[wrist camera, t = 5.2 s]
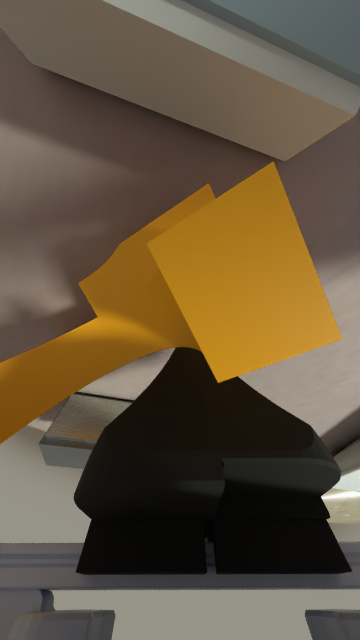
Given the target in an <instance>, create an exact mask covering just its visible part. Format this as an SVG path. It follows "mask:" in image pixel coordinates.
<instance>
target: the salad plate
mask: <svg viewBox="0 0 360 640" xmlns="http://www.w3.org/2000/svg"><path fill="white" fill-rule="evenodd" d="M333 458H334V460H335V461H336V463H337V464H338V466H339V467H340V469H341V470H342V471H341V478H340V481H339V482H338V483H337V484H336V485H335V486H334V487H332V488H336V489H344V490H351V491H358V492H360V439H358V440H356V441H355V442H353V443H352V444H350V445H349V446H347V447H346V448H345V449H344V450H342V451H341V452H339V453H338V454H337V455H335V456H334V457H333Z"/></svg>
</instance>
